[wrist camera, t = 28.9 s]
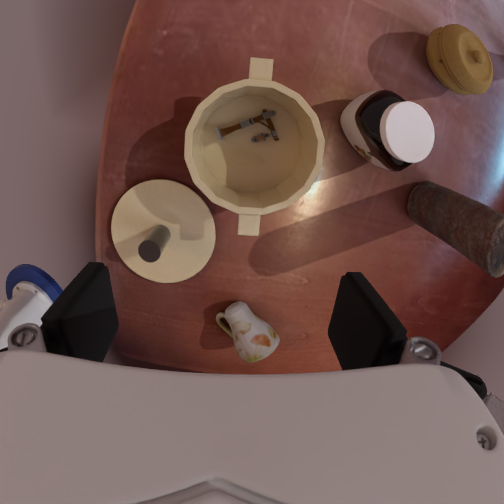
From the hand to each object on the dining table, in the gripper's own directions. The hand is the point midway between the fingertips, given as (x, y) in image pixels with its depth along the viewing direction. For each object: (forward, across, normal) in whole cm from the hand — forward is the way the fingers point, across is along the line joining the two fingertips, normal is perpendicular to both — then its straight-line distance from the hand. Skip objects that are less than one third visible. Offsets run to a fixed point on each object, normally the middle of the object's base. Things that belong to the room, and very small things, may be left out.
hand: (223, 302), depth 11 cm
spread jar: (+29, -20, -10) cm, 37 cm away
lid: (+29, +9, +8) cm, 31 cm away
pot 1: (+29, -2, -5) cm, 30 cm away
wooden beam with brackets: (+28, -2, -5) cm, 29 cm away
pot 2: (+29, -33, -25) cm, 50 cm away
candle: (+29, -30, 0) cm, 42 cm away
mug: (+29, -4, +23) cm, 37 cm away
